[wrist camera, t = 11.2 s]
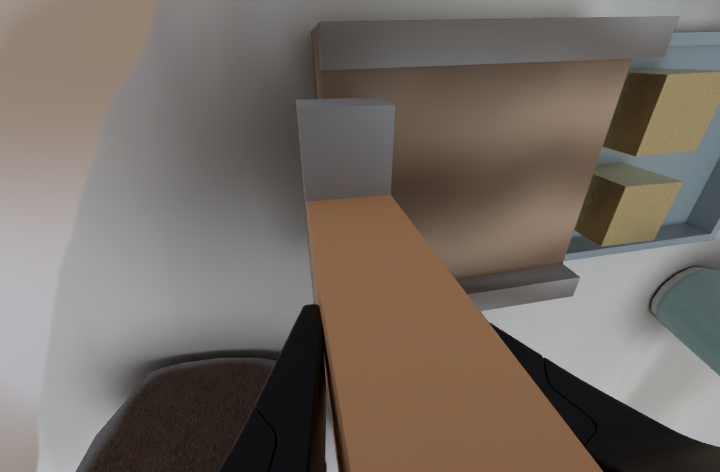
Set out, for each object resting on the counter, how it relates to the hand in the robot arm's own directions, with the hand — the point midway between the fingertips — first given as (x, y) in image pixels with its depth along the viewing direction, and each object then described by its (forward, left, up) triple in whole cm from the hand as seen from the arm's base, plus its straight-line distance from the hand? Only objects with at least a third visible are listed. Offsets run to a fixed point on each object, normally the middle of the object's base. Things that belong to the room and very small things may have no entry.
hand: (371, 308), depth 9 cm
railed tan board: (0, -7, -12) cm, 14 cm away
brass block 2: (-3, -16, -9) cm, 19 cm away
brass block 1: (+3, -16, -9) cm, 19 cm away
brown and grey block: (0, 0, -5) cm, 5 cm away
